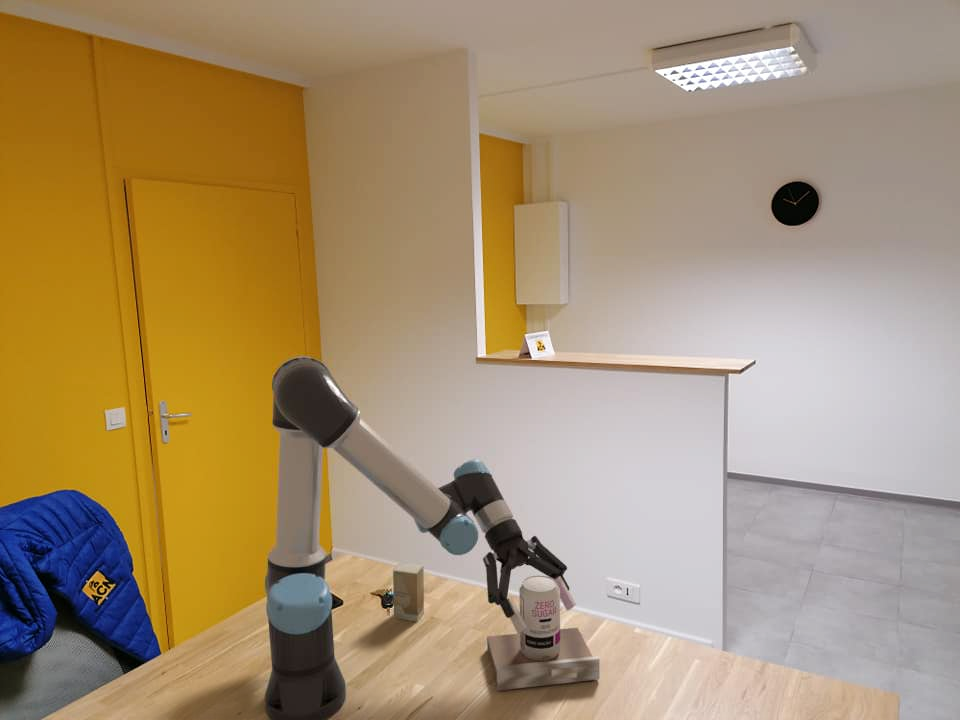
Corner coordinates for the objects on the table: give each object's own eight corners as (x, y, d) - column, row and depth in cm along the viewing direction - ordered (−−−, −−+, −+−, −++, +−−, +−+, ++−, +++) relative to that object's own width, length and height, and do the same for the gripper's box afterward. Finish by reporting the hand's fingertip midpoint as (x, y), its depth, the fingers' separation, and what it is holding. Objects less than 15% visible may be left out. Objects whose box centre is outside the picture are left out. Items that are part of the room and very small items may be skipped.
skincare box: (393, 618, 164) (391, 570, 162) (400, 609, 168) (398, 561, 166) (418, 622, 162) (416, 573, 160) (425, 613, 166) (423, 564, 164)
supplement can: (540, 636, 149) (539, 570, 147) (568, 652, 143) (568, 584, 141) (512, 650, 144) (511, 582, 142) (540, 668, 138) (539, 597, 136)
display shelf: (498, 693, 135) (497, 670, 134) (486, 649, 150) (485, 628, 149) (599, 682, 138) (599, 659, 137) (578, 640, 153) (578, 619, 152)
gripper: (533, 519, 160) (581, 605, 151) (444, 550, 145) (491, 648, 136) (549, 503, 155) (600, 592, 146) (459, 533, 140) (509, 634, 131)
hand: (547, 619), depth 141 cm, fingers open, 13 cm apart
